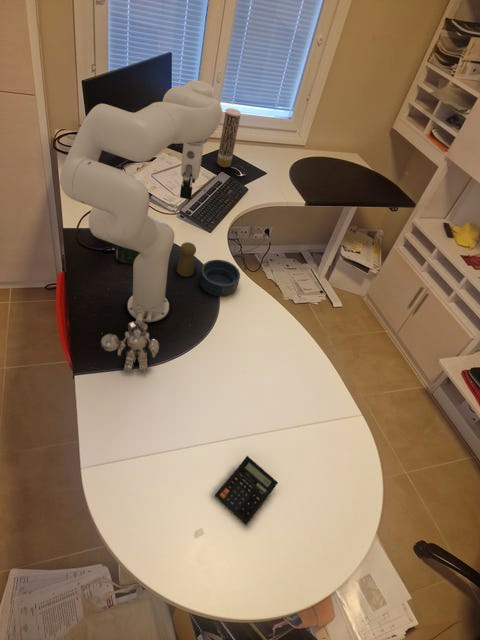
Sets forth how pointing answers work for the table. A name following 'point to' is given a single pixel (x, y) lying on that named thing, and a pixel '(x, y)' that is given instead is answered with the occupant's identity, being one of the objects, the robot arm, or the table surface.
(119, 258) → the coffee jar
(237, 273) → the bowl
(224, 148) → the paper tube
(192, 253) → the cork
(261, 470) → the calculator
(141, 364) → the robot toy
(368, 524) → the table surface
